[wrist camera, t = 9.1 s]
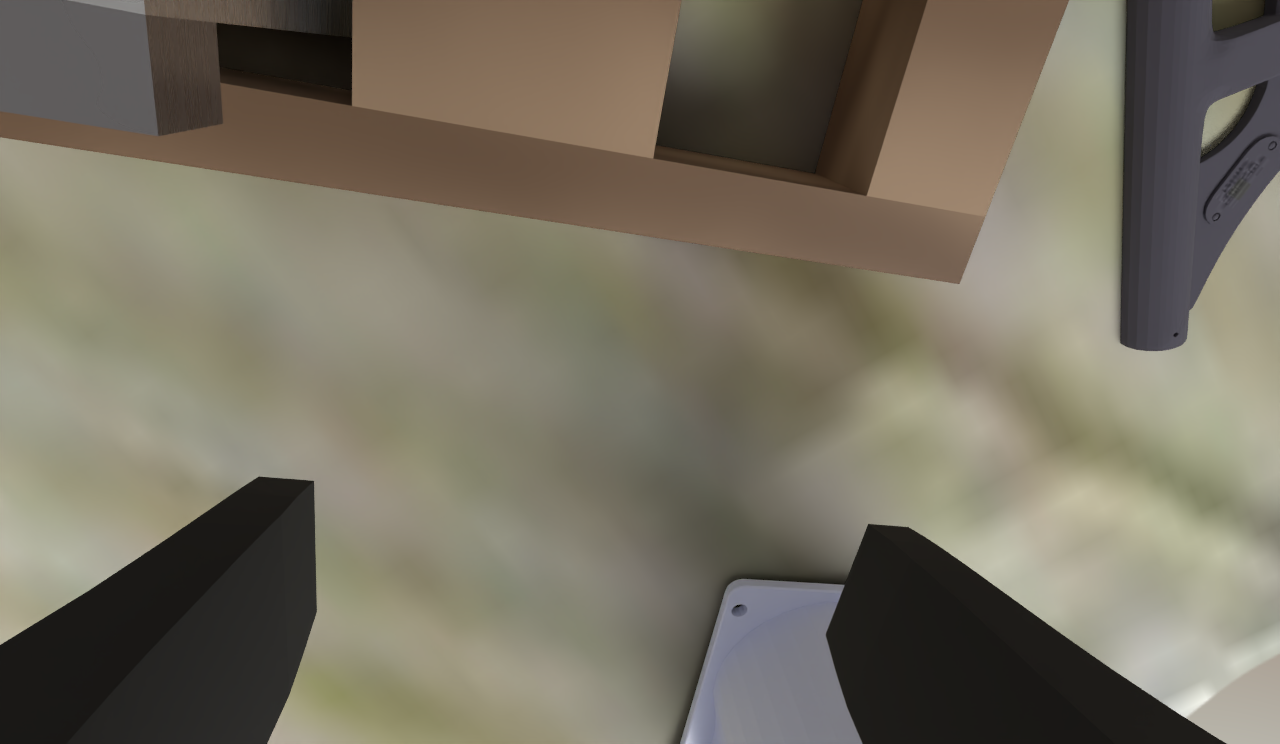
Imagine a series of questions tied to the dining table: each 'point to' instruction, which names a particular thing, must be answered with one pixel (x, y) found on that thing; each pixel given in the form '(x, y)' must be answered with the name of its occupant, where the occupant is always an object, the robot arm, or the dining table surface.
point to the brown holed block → (636, 126)
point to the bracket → (1189, 155)
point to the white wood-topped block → (135, 57)
